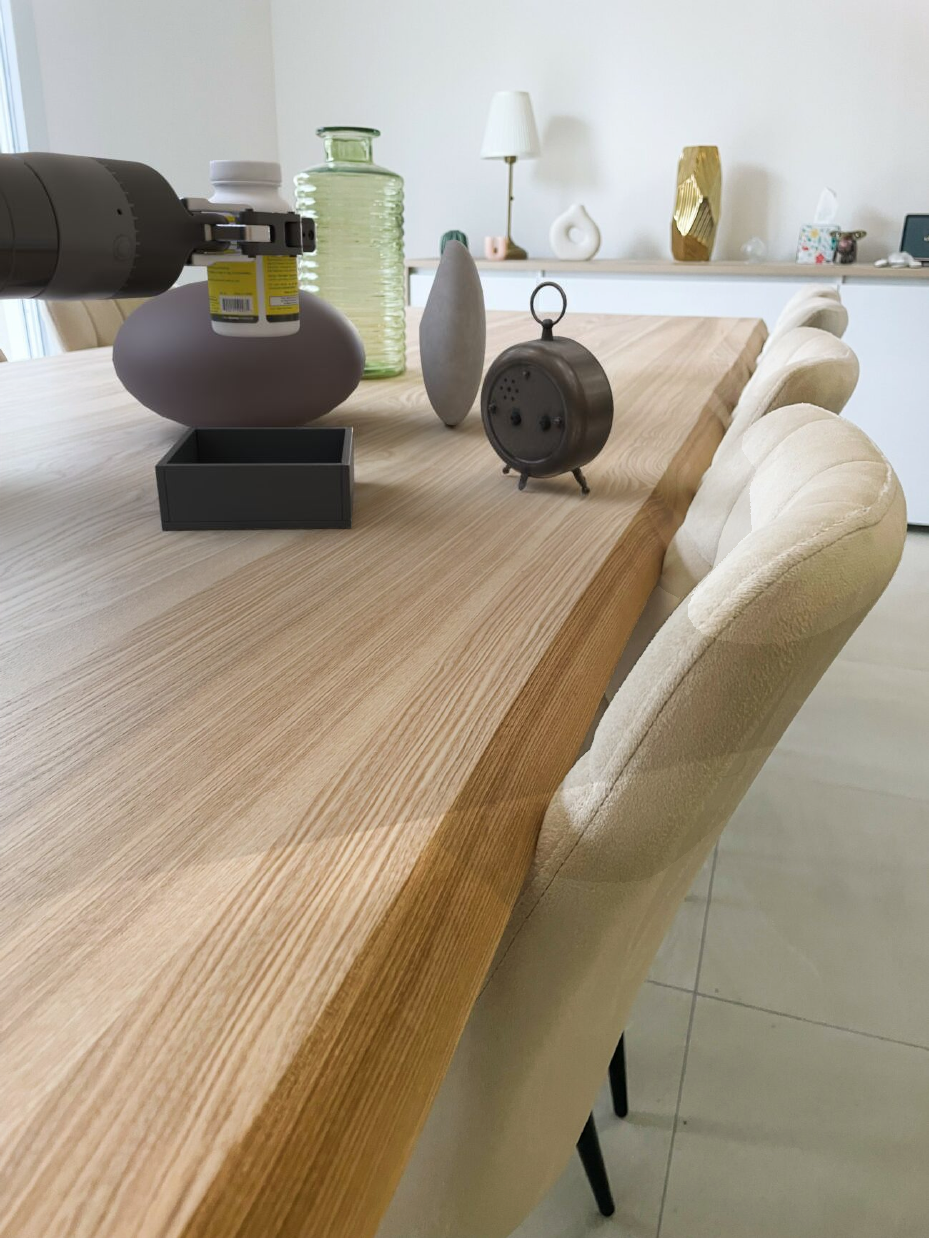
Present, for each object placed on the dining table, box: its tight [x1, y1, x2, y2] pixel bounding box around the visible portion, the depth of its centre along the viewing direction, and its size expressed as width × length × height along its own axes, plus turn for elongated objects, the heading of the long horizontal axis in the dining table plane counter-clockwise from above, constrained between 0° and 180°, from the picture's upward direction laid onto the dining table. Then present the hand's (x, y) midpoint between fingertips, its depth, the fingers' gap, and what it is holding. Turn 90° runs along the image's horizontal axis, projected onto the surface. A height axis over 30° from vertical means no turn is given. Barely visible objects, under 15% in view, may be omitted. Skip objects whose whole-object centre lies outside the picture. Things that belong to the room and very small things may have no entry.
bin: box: [154, 426, 355, 531], centre depth 71 cm, size 13×13×5 cm
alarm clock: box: [479, 281, 615, 495], centre depth 75 cm, size 11×5×16 cm, turn 48°
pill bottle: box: [202, 159, 300, 337], centre depth 64 cm, size 6×6×11 cm
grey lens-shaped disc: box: [418, 239, 487, 426], centre depth 99 cm, size 18×7×19 cm, turn 1°
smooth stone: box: [111, 279, 367, 428], centre depth 94 cm, size 25×25×15 cm
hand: (271, 234), depth 66 cm, fingers closed on pill bottle, 6 cm apart
